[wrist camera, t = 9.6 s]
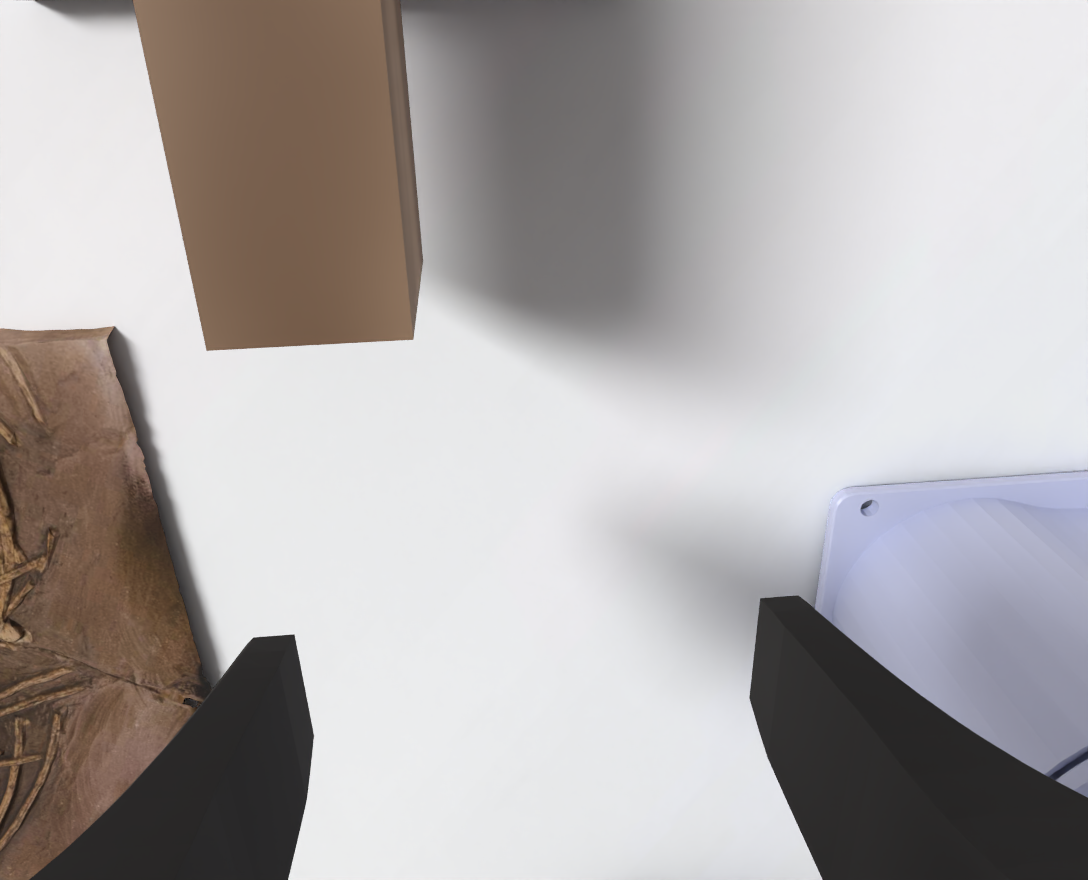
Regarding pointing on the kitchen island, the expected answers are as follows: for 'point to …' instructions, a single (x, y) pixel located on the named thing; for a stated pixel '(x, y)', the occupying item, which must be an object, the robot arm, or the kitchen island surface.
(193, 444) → the kitchen island surface
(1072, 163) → the kitchen island surface
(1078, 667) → the robot arm
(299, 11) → the walnut beam
